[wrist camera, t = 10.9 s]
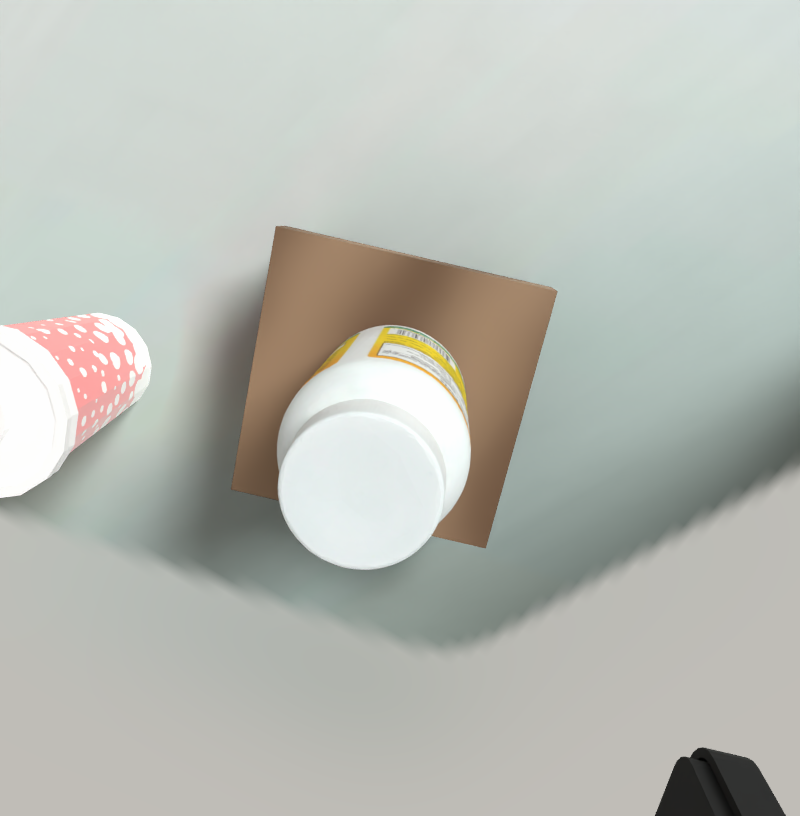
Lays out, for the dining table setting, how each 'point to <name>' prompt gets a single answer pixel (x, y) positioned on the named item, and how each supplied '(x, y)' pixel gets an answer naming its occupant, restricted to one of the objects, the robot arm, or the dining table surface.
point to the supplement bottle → (374, 448)
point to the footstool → (404, 306)
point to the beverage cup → (62, 390)
